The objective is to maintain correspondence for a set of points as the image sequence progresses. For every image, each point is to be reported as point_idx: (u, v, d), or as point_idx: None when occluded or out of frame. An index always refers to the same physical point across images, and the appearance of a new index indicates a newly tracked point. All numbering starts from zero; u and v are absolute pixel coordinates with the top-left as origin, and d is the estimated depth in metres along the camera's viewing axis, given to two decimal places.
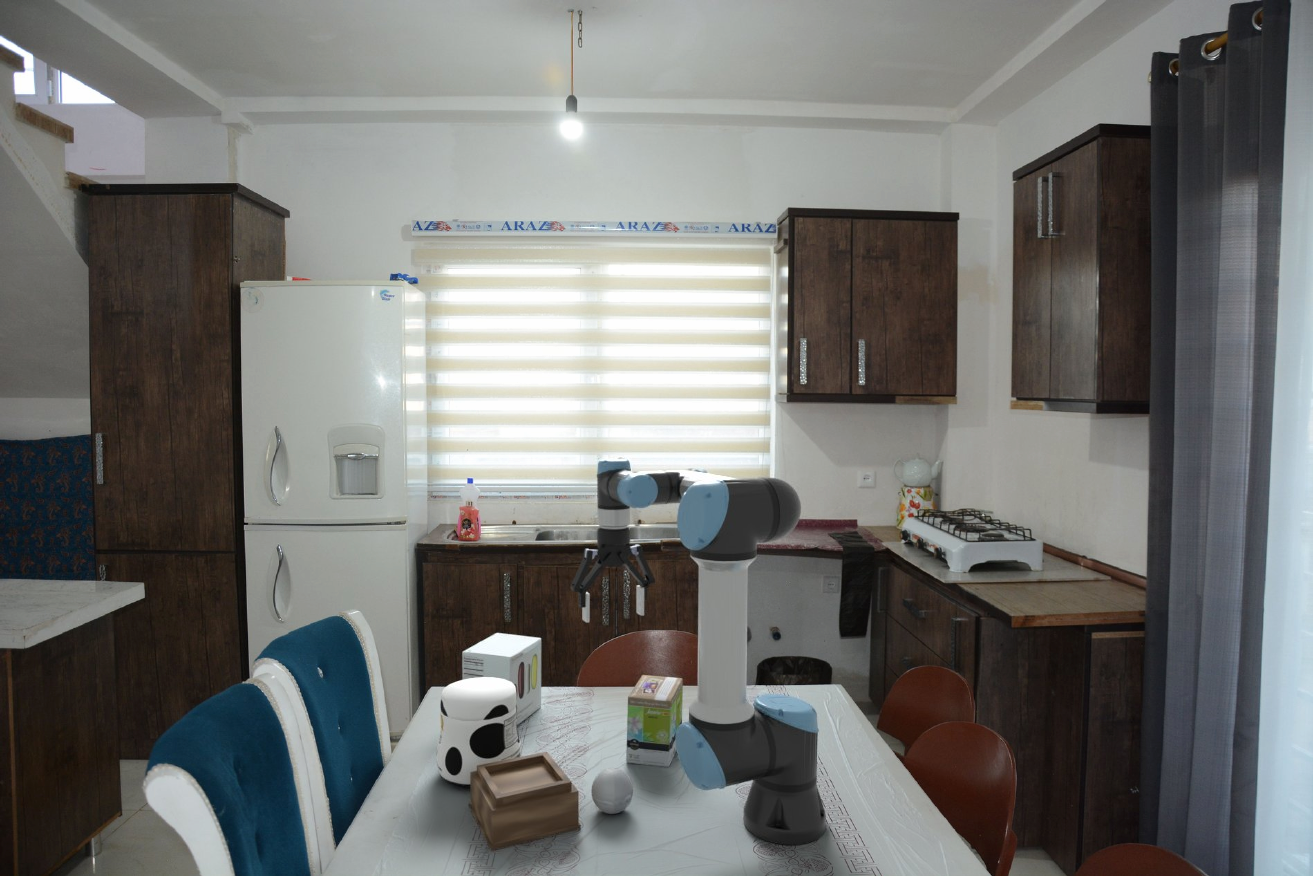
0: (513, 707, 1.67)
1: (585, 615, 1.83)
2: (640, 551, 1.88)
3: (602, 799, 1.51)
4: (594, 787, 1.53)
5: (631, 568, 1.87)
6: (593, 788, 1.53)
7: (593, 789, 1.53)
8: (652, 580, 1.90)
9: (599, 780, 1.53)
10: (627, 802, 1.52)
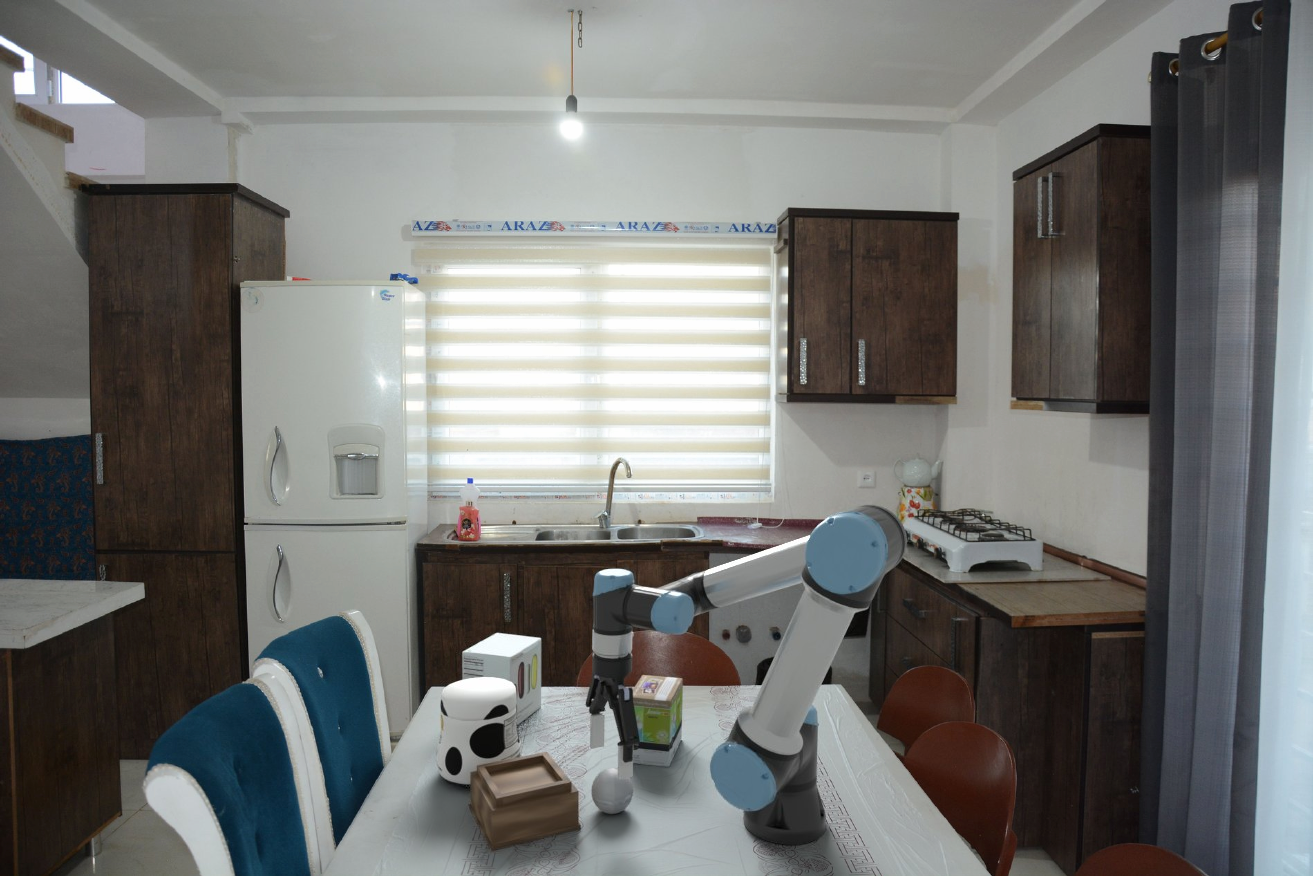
0: (513, 707, 1.67)
1: None
2: (619, 696, 1.48)
3: (602, 799, 1.51)
4: (594, 787, 1.53)
5: (614, 712, 1.50)
6: (593, 788, 1.53)
7: (593, 789, 1.53)
8: (625, 741, 1.45)
9: (599, 780, 1.53)
10: (627, 802, 1.52)
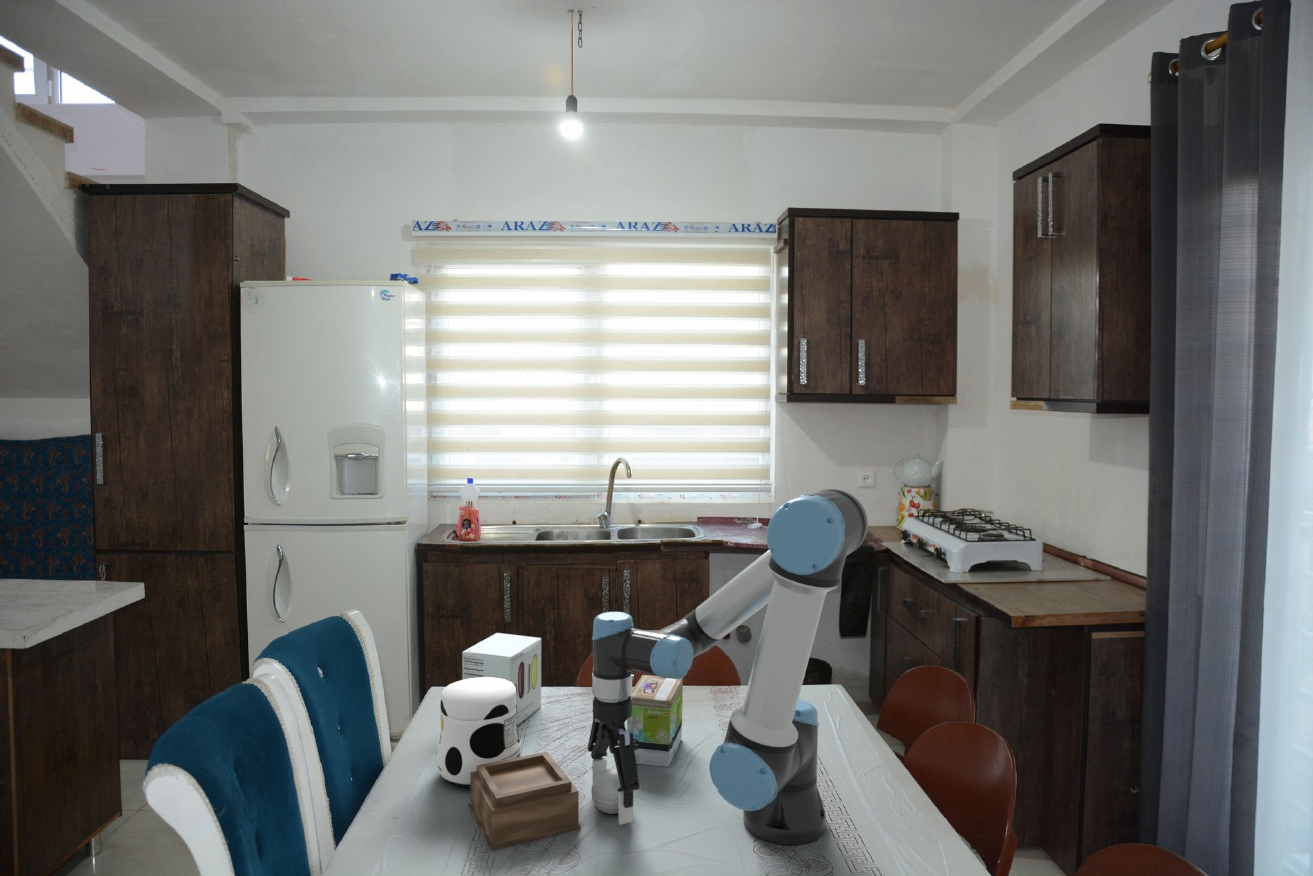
0: (513, 707, 1.67)
1: None
2: (620, 741, 1.48)
3: (602, 799, 1.51)
4: (595, 787, 1.53)
5: (614, 756, 1.50)
6: (593, 788, 1.53)
7: (593, 789, 1.53)
8: (625, 787, 1.46)
9: (599, 780, 1.53)
10: None
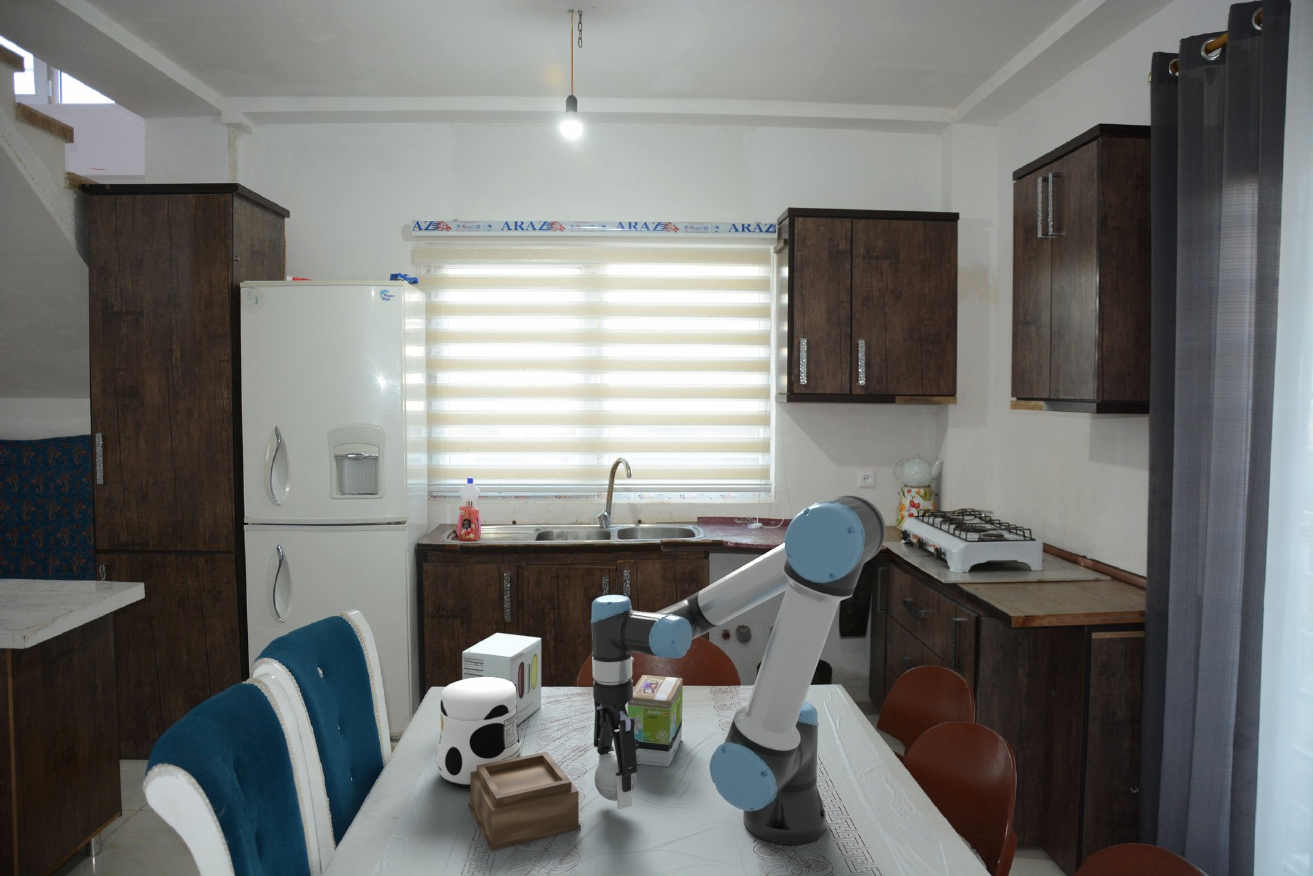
0: (513, 707, 1.67)
1: None
2: (620, 727, 1.48)
3: (605, 785, 1.51)
4: (597, 774, 1.52)
5: (614, 740, 1.51)
6: (596, 775, 1.53)
7: (596, 776, 1.53)
8: (623, 770, 1.47)
9: (601, 767, 1.53)
10: None
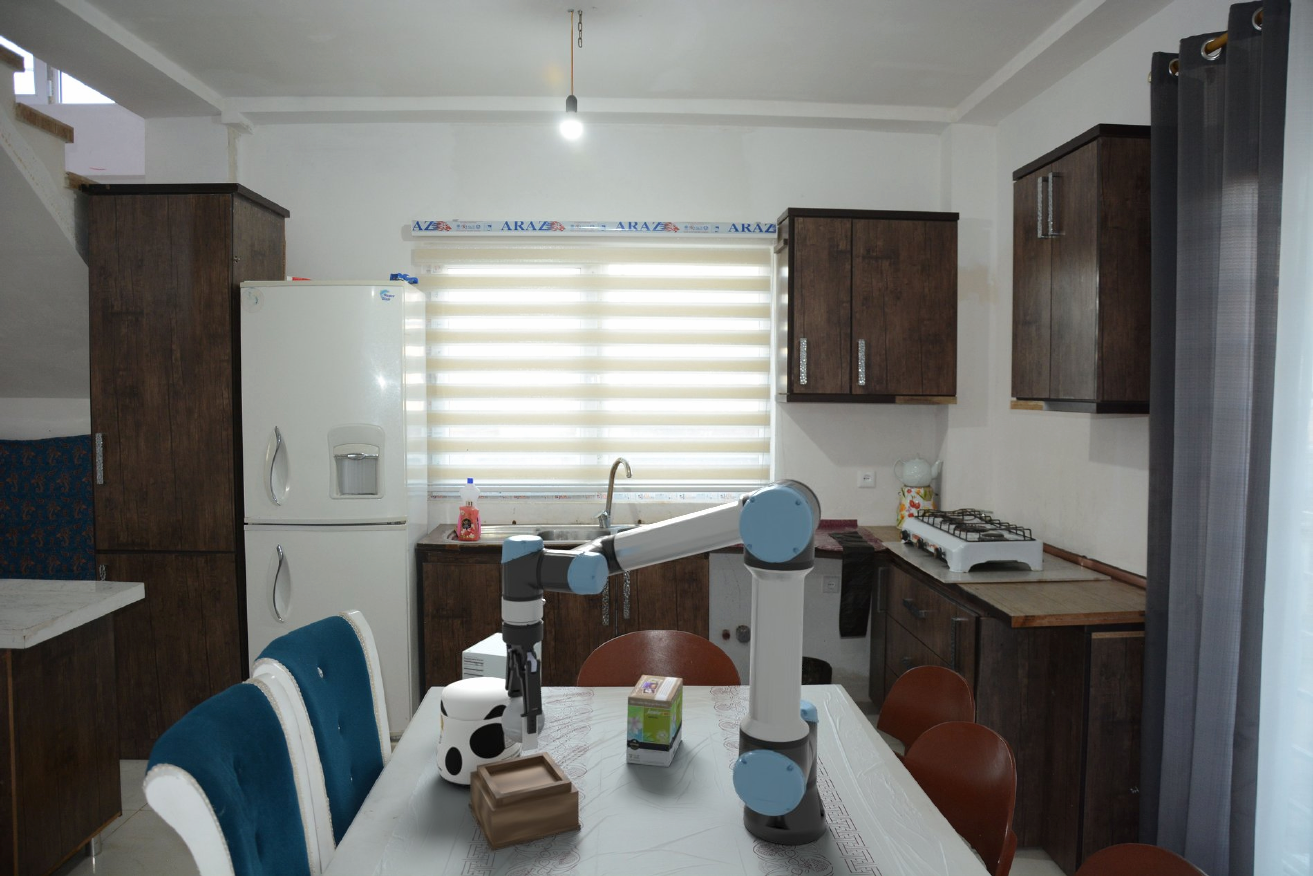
0: None
1: None
2: (526, 667, 1.45)
3: (510, 727, 1.48)
4: (504, 716, 1.49)
5: (521, 681, 1.48)
6: (503, 717, 1.50)
7: (503, 718, 1.50)
8: (527, 712, 1.44)
9: (508, 708, 1.50)
10: None
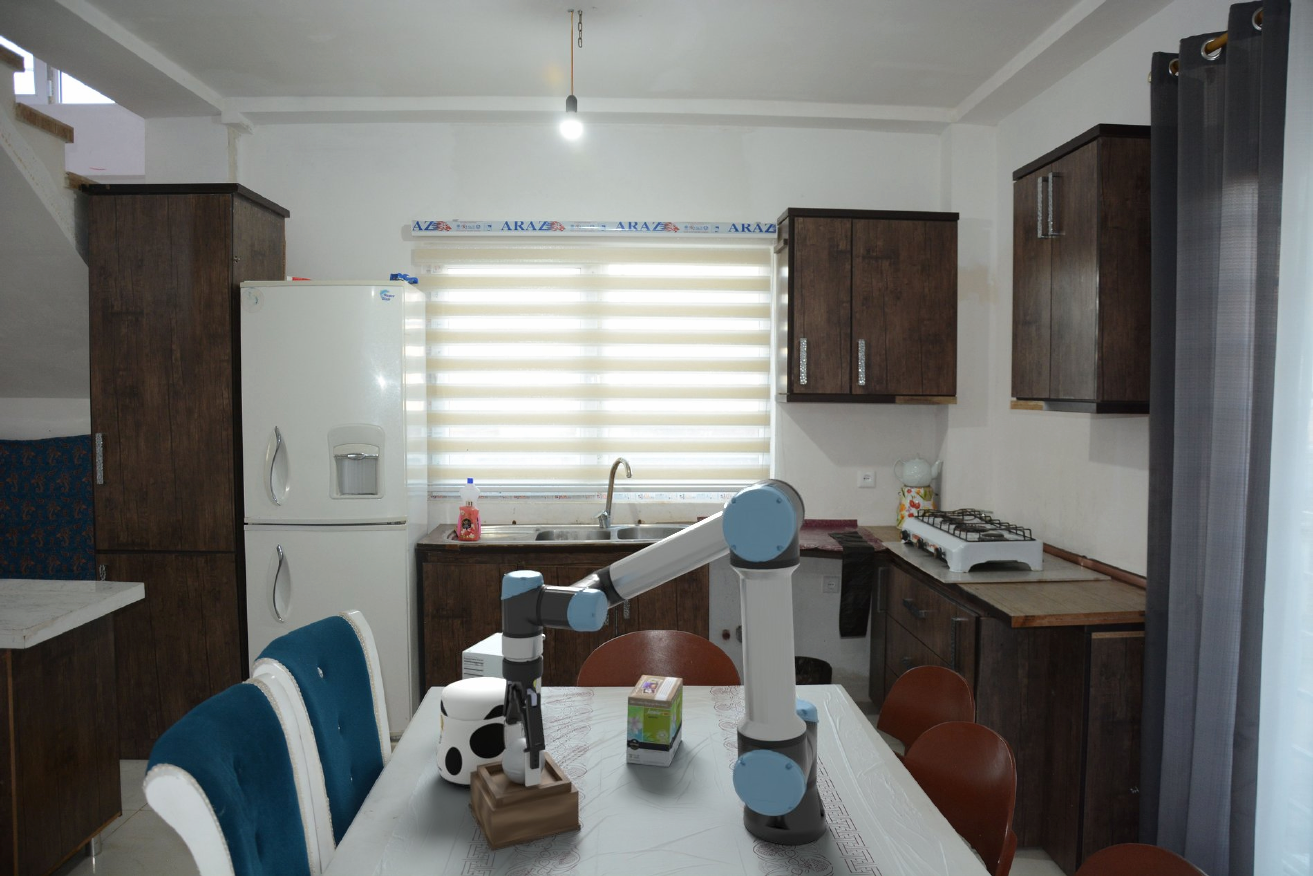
0: None
1: None
2: (526, 702, 1.45)
3: (511, 768, 1.48)
4: (504, 757, 1.50)
5: (522, 717, 1.47)
6: (503, 757, 1.50)
7: (503, 758, 1.50)
8: (530, 747, 1.43)
9: (509, 749, 1.50)
10: None
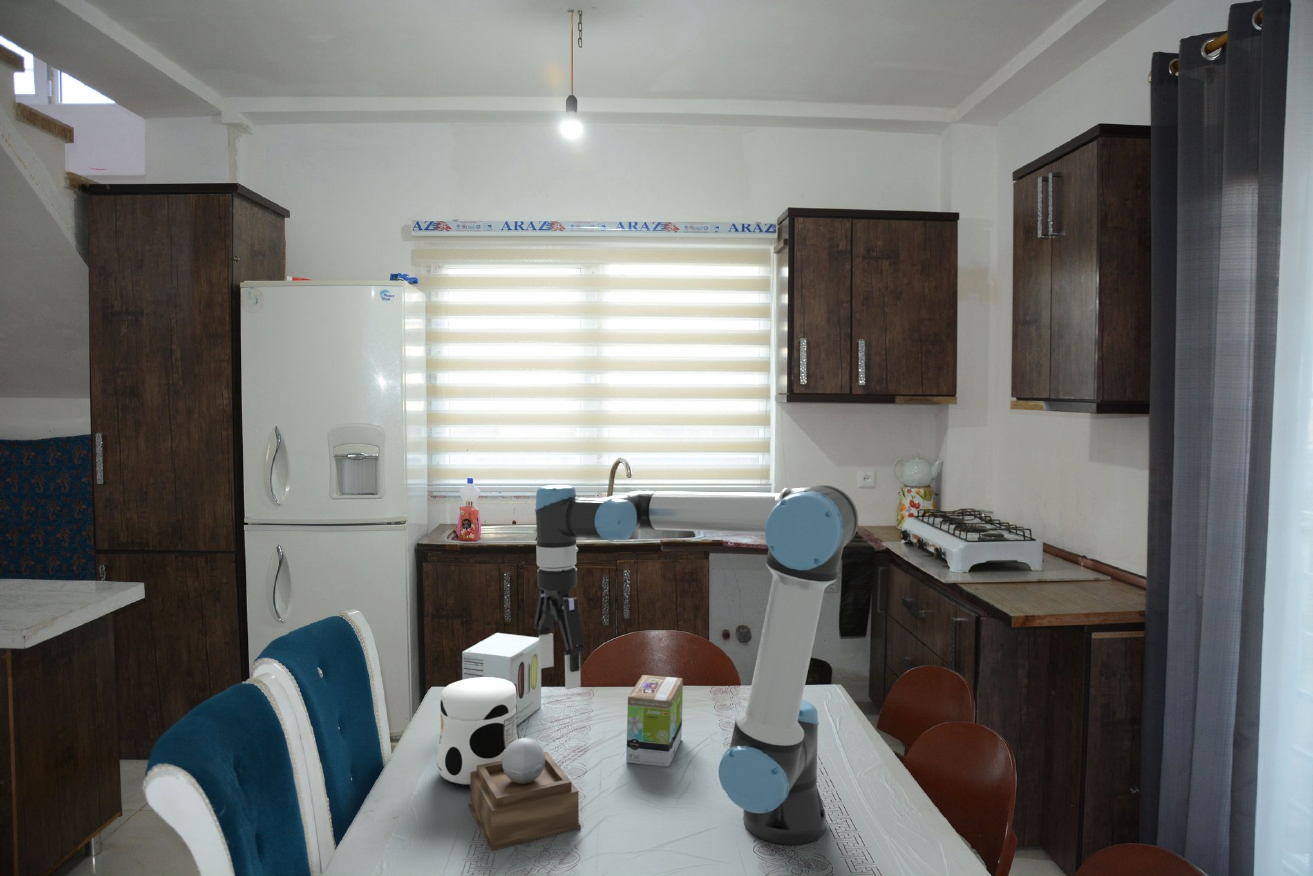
0: (513, 707, 1.67)
1: None
2: (564, 606, 1.49)
3: (511, 768, 1.48)
4: (504, 757, 1.50)
5: (560, 624, 1.51)
6: (503, 758, 1.50)
7: (503, 758, 1.50)
8: (571, 649, 1.46)
9: (509, 749, 1.50)
10: (537, 772, 1.49)
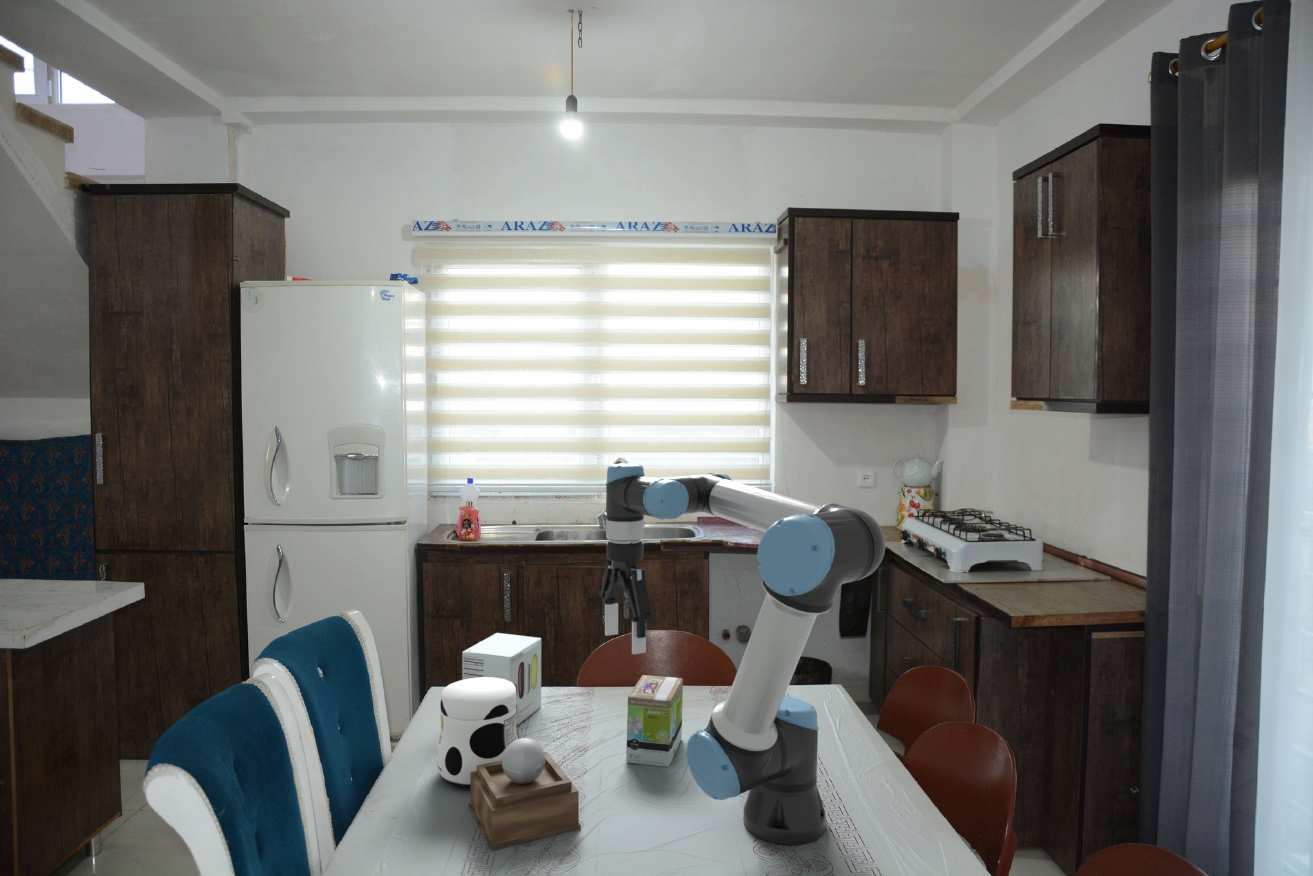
0: (513, 707, 1.67)
1: None
2: (632, 577, 1.59)
3: (511, 768, 1.48)
4: (504, 757, 1.50)
5: (627, 593, 1.61)
6: (503, 757, 1.50)
7: (503, 758, 1.50)
8: (638, 616, 1.56)
9: (509, 749, 1.50)
10: (537, 772, 1.49)
